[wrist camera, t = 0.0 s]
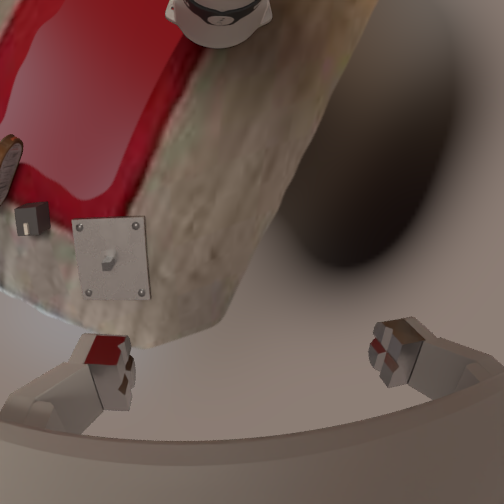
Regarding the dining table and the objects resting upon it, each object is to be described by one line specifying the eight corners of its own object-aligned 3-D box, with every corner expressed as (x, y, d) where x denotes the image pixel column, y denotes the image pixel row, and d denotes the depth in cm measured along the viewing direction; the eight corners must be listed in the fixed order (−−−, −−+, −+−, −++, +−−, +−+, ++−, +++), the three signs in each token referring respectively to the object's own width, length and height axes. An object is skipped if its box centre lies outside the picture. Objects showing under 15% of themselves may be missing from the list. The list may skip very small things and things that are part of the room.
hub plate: (74, 218, 53) (65, 224, 49) (144, 215, 55) (140, 221, 51) (85, 296, 58) (78, 306, 54) (151, 297, 60) (148, 307, 56)
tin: (20, 133, 46) (-3, 133, 38) (31, 139, 46) (8, 140, 39) (-5, 202, 49) (-28, 211, 41) (5, 209, 50) (-17, 219, 42)
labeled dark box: (27, 203, 50) (12, 209, 45) (47, 201, 51) (34, 208, 45) (30, 228, 52) (16, 236, 46) (50, 227, 52) (37, 235, 47)
